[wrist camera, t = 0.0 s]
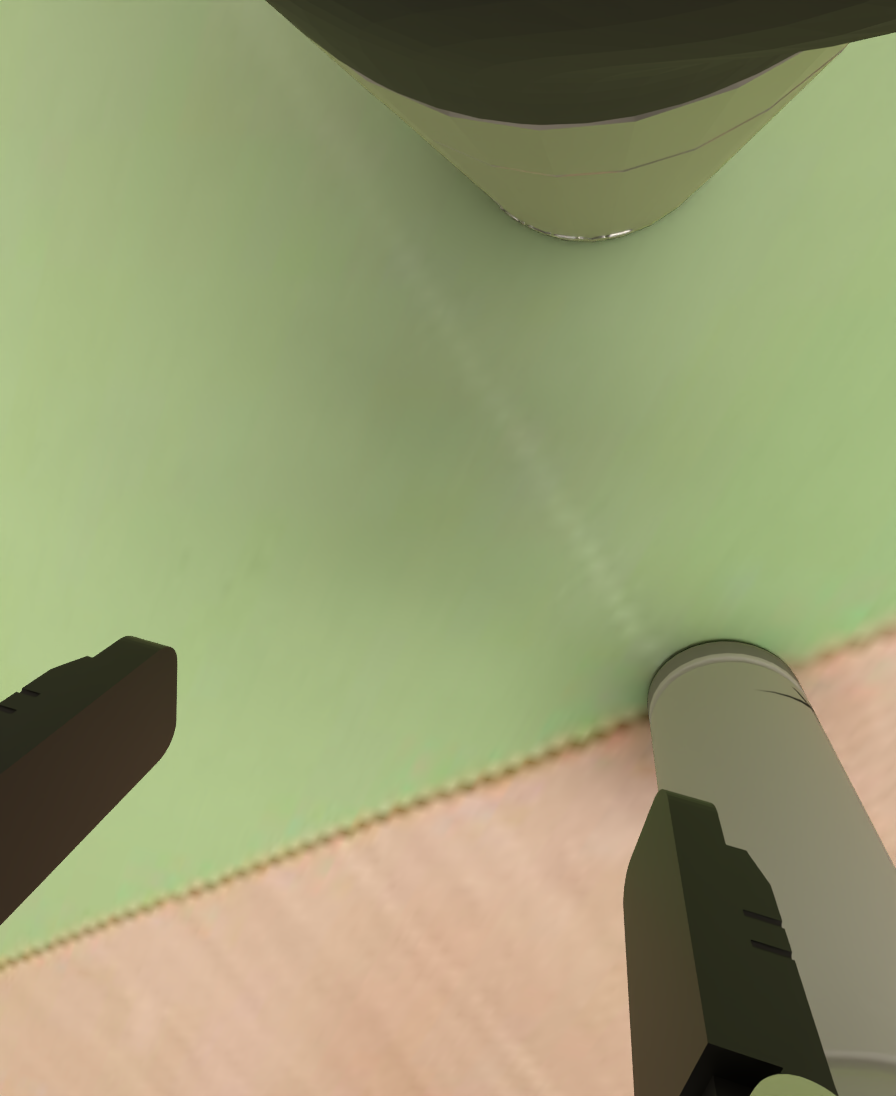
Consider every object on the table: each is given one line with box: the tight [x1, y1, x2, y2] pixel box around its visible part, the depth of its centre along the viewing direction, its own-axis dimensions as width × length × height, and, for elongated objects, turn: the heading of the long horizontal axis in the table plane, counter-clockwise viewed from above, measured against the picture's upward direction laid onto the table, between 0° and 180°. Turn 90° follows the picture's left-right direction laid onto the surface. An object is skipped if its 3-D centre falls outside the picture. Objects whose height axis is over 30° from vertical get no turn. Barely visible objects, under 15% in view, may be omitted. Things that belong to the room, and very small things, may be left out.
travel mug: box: [647, 641, 896, 1096], centre depth 18 cm, size 6×7×20 cm
